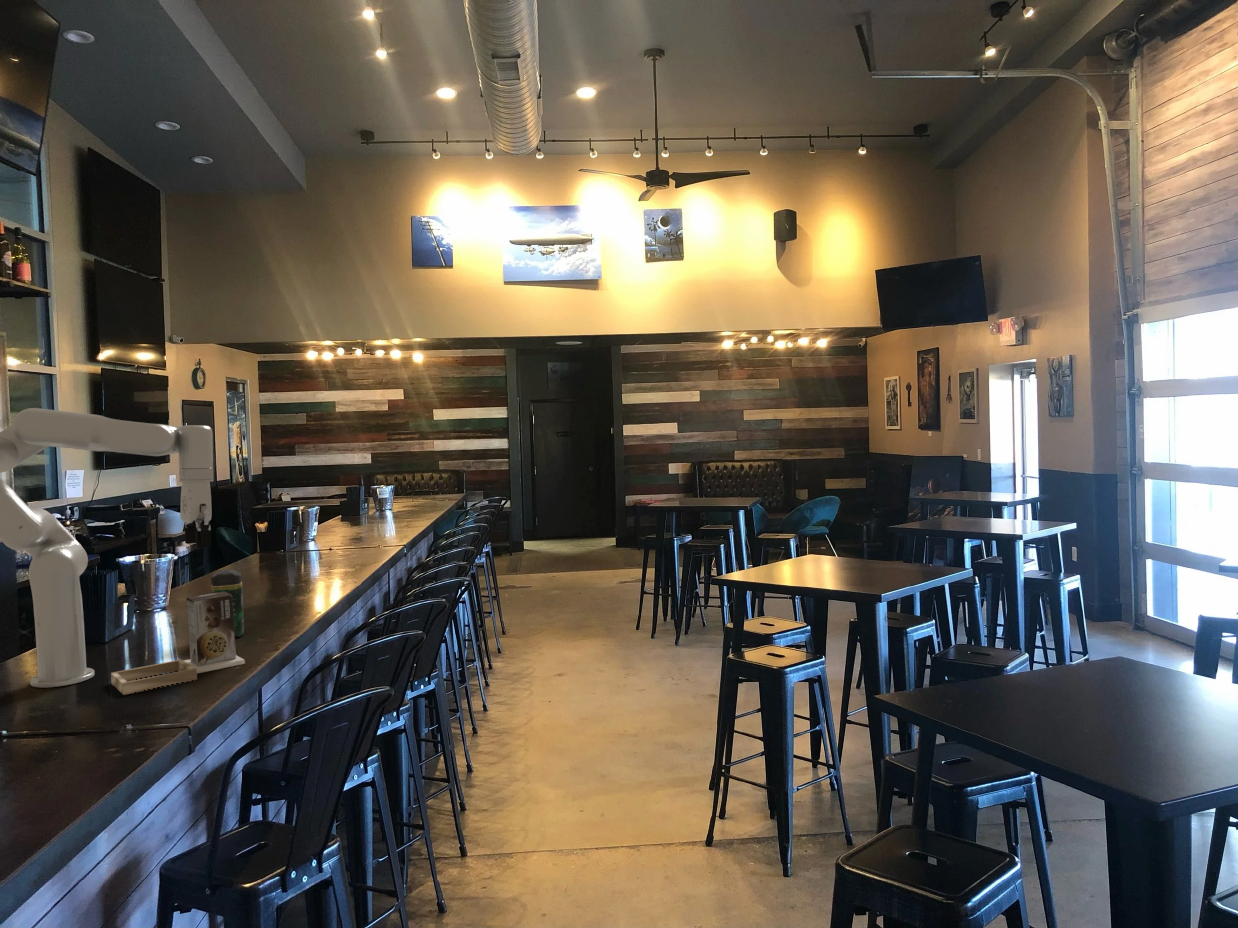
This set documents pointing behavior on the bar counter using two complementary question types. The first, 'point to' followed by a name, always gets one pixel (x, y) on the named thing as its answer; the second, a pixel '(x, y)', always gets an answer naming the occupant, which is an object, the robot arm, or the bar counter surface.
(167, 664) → the holder frame
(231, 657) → the coffee box
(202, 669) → the tile
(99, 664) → the bar counter surface
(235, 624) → the coffee jar
